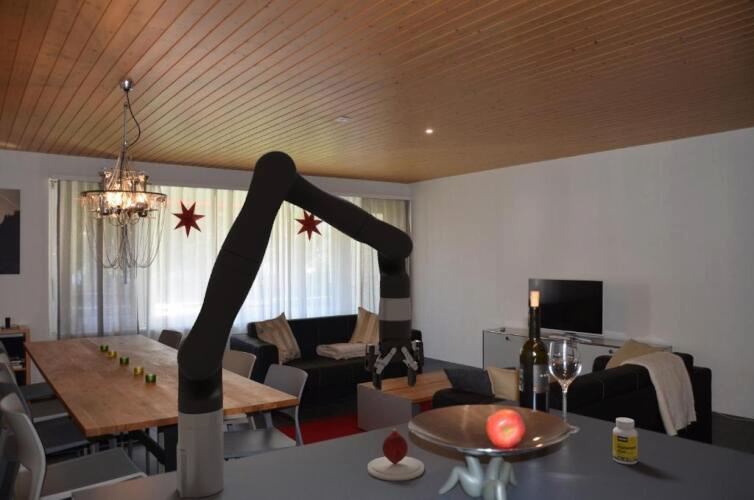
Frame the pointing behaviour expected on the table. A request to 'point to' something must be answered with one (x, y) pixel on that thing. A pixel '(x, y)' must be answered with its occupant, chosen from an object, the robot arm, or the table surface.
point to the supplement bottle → (625, 441)
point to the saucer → (395, 469)
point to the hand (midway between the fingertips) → (394, 387)
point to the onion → (395, 447)
